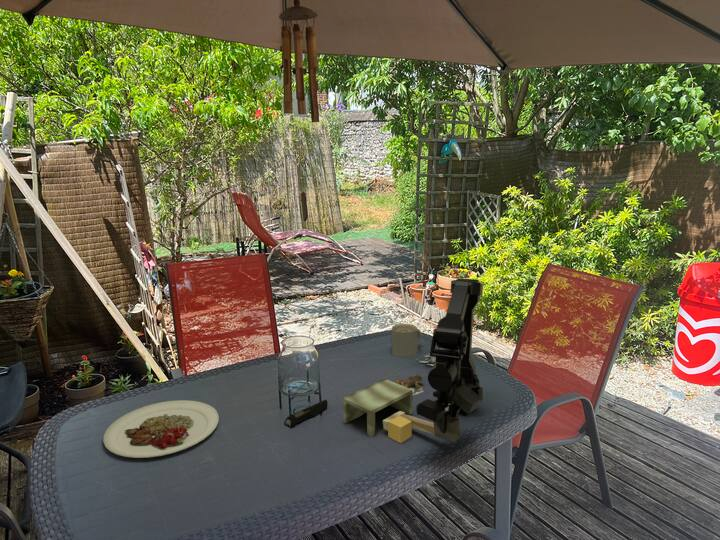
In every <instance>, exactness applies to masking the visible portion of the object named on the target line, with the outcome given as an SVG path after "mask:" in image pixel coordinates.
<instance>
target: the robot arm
mask: <svg viewBox="0 0 720 540" xmlns="http://www.w3.org/2000/svg"><path fill="white" fill-rule="evenodd" d="M449 291H450V292H449V293H450V294H451V296H450V299H449V303H448V306H447V311H446V314H445V316H443V317H442V318H440V319H439V320H438V321H437V324H436V325H437V326H436V328H434V329H433V332H432V337H431V338H432V339H431V344H430V351H429V357H434V358H435V362H434V364H433V366H432V367H431V369H430V371H429V372H428V375H427V382H428V384H429V386H430V387H431V388H432V389H433V390H435V391H433V392H432V397H435V398H436V400H432V399H429V398H427V399H424V400H423V401H421V402H419V403H418V404H417V405H416V406H415V407H416V408H415V409H416V410H415V411H416V415H418V416H420V417H422V418H425V419H427V420H430V421H431V422H433V421H436V423H437V425H438V427H439V429H440V431H441V433H443V434H445V432H446V426H447V418H448V416H451V417H454V418H458V416H459V414H461V415H462V416H467V415H469V414H470V413H472V412H474V411H475V410H477V409H478V407H479V405H480V403H481V402H482V401H483V400H484V398H483V397H484V395H483V394H484V392H483V391H484V390H483V387H482V386H481V384H480V379H479V376H478V374H477V367H476V365H475V363H474V361H473V359H472V348H473V344H472V343H473V328H474V315H475V314H474V313H475V312H474V311H475V308H476V306H477V305H478V304H479V302H480V301H481V297H482V296H483V292H484V284H483V283H482V282H480V280H479V279H475V278H462V277H458V278H457V279H453V280H451V281H450V290H449ZM436 347H437V348H438V349H437V348H436Z"/></svg>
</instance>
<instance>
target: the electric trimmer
mask: <svg viewBox="0 0 720 540" xmlns="http://www.w3.org/2000/svg"><path fill="white" fill-rule="evenodd" d="M320 402H321V404H320ZM327 408H328V399H323V400H321V401H319V402H317V403H315V404H313V405H310V406H309V407H308V406H307V407H306V408H304V409H301V410H299V411H296V412H295V413H292V414H290V415H288V416H287V417H286V418H285V420H284V423H283V425H284V426H285V427H287V428H289V429H292V428H295V426H296V425H298V424H299V423H300V422H304V420H306V419H308V418H310V417H316V415H319V414H320V413H322V412H323V411H324V410H325V409H327Z"/></svg>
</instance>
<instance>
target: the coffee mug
mask: <svg viewBox="0 0 720 540" xmlns="http://www.w3.org/2000/svg"><path fill="white" fill-rule="evenodd" d="M421 337H422V331H421V329H419V328H418V327H417V326H416V325H414V324H411V323H397V324H393V325H392V327H391V354H392V355H393V356H395V357H398V358H412V357H416V355H418V344H419V342H420V340H421Z"/></svg>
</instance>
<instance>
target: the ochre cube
mask: <svg viewBox="0 0 720 540" xmlns="http://www.w3.org/2000/svg"><path fill="white" fill-rule="evenodd" d="M412 429H413V427H412V421H410V420H408V419H406V418H403V417H401V416H397V417H396V418H394V419H392V420H390V421H388V430H387V438H390V439H392V440H394V441H396V442H398V443H399V444H402V443H403V442H405V441H407V440H408V439H410V438H412V434H413V433H412V431H413V430H412Z"/></svg>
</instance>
